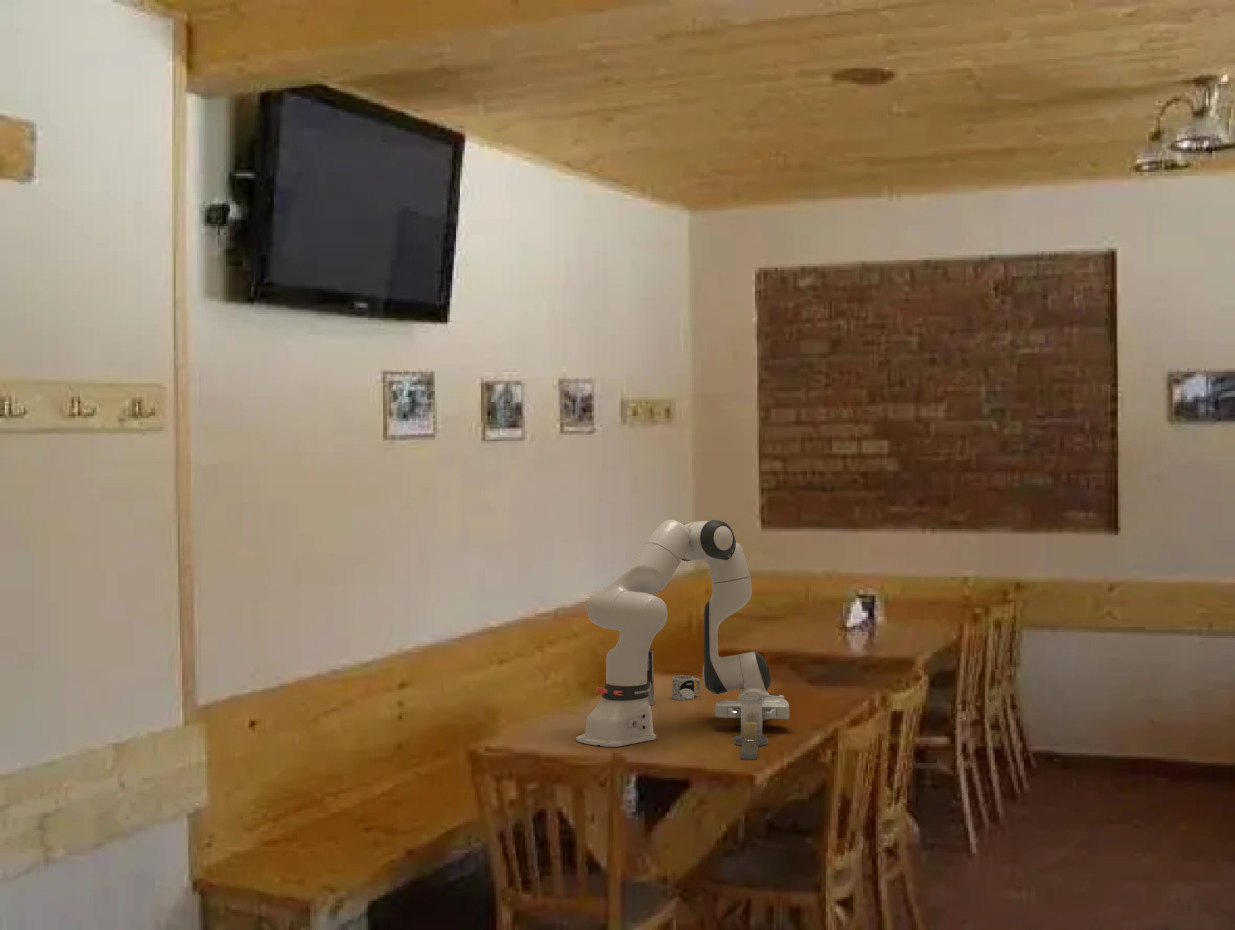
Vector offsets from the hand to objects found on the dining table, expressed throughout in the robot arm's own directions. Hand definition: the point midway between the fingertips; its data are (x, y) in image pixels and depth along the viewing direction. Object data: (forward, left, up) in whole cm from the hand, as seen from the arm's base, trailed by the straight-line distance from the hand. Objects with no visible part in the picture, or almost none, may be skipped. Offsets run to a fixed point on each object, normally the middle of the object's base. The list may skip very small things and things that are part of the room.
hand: (751, 715), depth 408 cm
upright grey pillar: (+1, 0, -6) cm, 6 cm away
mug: (+37, +45, -6) cm, 59 cm away
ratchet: (-14, -8, -6) cm, 17 cm away
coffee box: (+21, +52, -6) cm, 57 cm away
